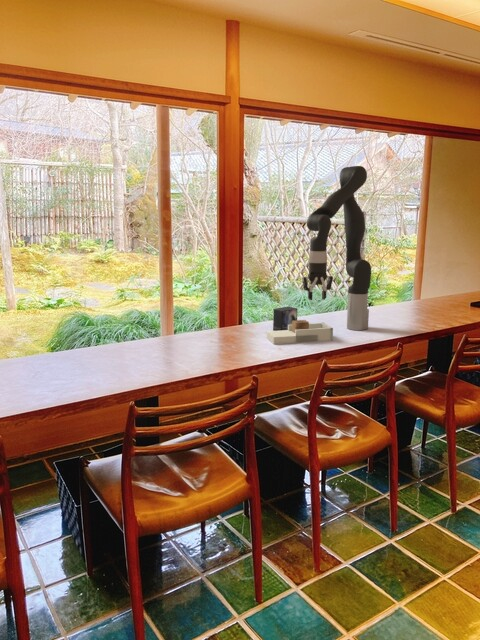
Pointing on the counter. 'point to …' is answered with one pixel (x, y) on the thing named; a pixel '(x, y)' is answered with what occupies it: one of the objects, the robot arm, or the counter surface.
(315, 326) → the channel
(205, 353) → the counter surface
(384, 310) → the counter surface
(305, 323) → the block
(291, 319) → the small box
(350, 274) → the robot arm
